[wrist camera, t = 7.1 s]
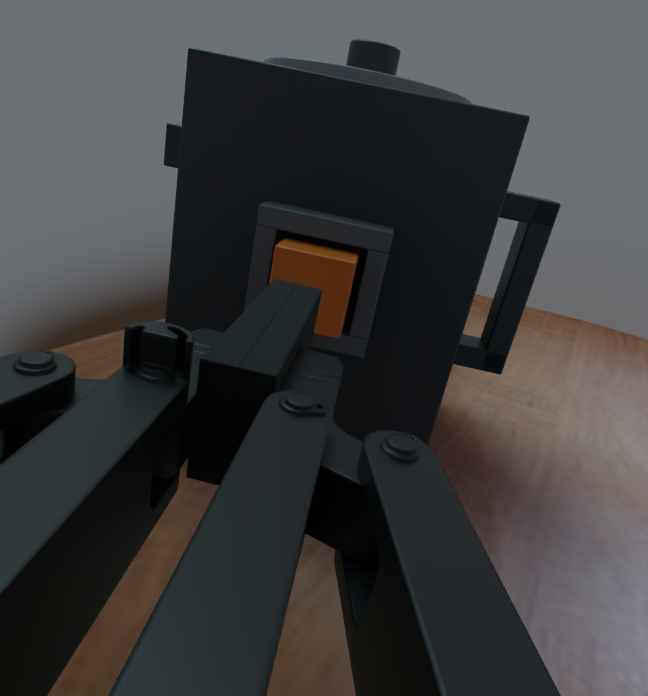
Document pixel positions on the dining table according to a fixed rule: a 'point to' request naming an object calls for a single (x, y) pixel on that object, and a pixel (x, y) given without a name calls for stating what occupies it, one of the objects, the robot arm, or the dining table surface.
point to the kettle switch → (318, 278)
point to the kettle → (353, 216)
